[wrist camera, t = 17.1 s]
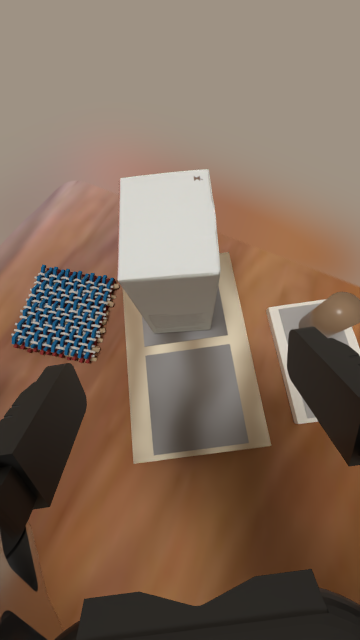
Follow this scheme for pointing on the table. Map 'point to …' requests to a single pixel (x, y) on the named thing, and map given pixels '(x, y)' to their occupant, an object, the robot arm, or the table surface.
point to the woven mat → (65, 314)
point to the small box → (169, 249)
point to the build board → (194, 383)
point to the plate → (283, 360)
